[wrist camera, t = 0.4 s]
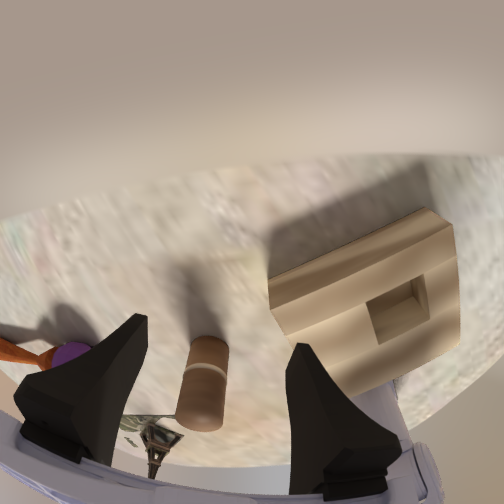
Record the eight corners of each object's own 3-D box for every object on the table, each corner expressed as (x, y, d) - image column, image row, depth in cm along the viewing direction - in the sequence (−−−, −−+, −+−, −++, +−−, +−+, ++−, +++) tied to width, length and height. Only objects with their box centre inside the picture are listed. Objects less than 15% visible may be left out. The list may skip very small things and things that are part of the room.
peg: (236, 356, 27) (232, 427, 19) (203, 367, 27) (192, 434, 20) (216, 330, 25) (205, 402, 18) (182, 342, 26) (164, 411, 19)
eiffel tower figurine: (195, 409, 31) (181, 507, 19) (222, 445, 36) (217, 526, 23) (101, 410, 33) (73, 486, 21) (136, 445, 37) (119, 512, 25)
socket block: (442, 319, 25) (459, 344, 22) (321, 376, 28) (327, 406, 24) (424, 207, 20) (452, 224, 17) (267, 279, 23) (270, 310, 19)
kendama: (-25, 337, 23) (73, 365, 21) (2, 320, 29) (104, 334, 26) (-8, 376, 25) (95, 414, 22) (17, 356, 30) (120, 380, 28)
